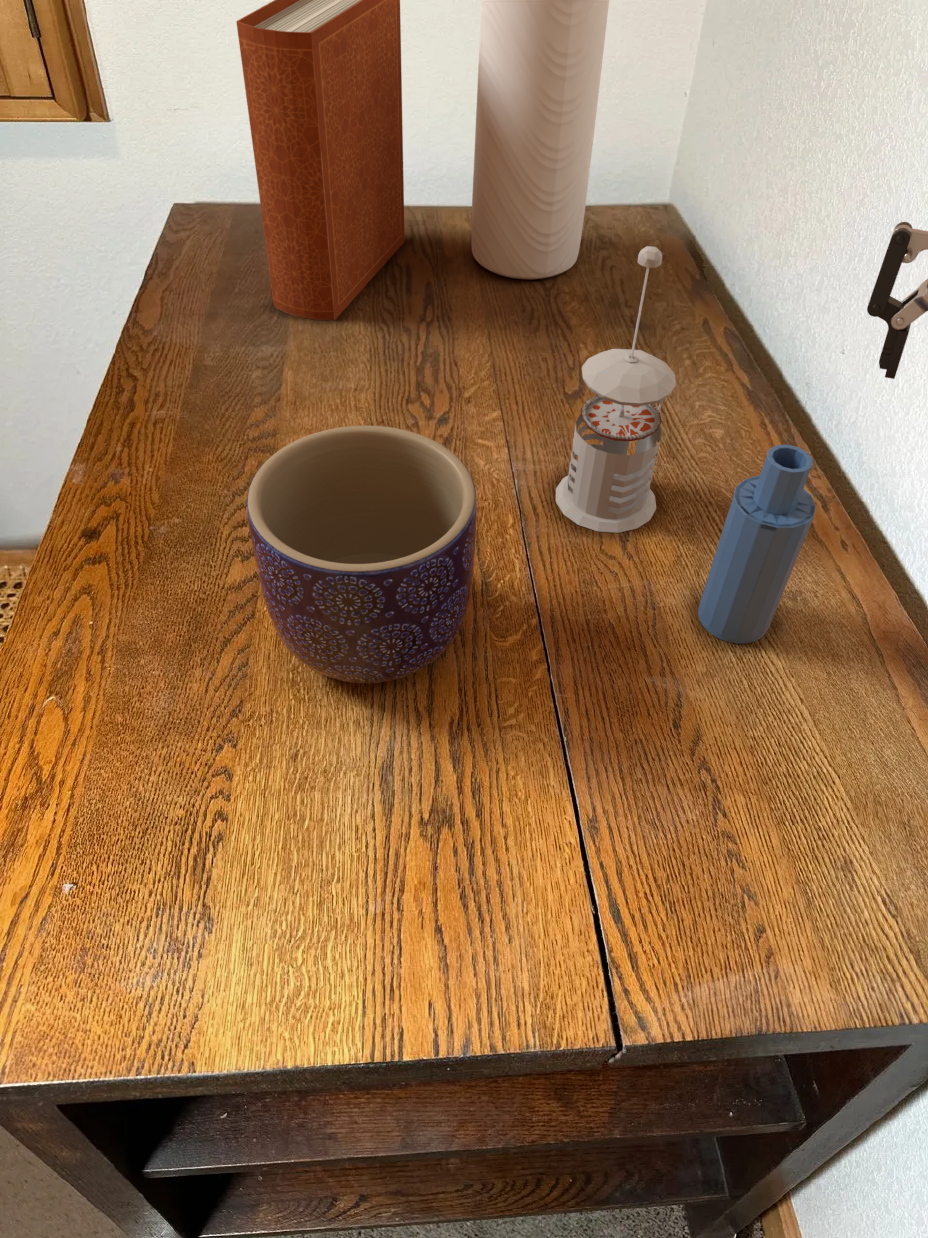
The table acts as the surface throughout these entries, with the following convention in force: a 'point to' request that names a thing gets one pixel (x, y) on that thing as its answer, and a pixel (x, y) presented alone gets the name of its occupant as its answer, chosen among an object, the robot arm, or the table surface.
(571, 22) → the vase
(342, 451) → the planter
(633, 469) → the french press
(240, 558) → the table surface
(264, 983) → the table surface
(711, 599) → the blue bottle
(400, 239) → the book
